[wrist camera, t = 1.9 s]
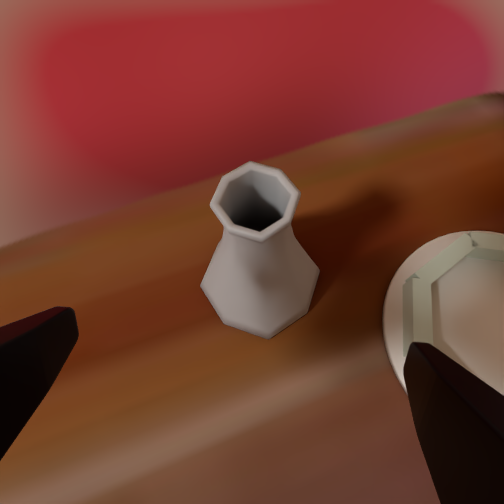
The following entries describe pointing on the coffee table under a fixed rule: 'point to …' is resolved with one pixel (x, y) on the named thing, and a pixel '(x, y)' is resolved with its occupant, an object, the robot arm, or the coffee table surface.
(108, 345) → the coffee table surface
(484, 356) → the shaker seat
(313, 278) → the flask
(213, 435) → the coffee table surface
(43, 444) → the coffee table surface
